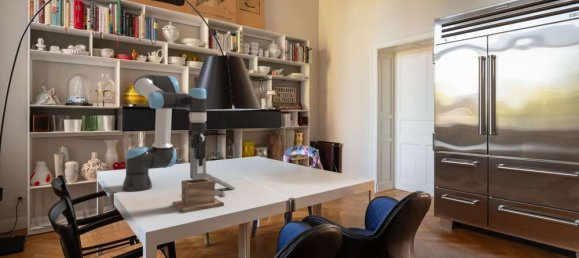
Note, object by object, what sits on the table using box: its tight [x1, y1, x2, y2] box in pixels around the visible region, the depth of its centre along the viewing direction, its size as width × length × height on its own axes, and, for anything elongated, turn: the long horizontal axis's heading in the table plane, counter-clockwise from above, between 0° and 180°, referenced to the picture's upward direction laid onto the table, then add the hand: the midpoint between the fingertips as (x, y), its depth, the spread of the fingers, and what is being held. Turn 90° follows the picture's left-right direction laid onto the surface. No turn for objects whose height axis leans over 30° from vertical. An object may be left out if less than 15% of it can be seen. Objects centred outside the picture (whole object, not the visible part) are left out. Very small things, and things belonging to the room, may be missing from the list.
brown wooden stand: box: [172, 178, 225, 214], centre depth 151 cm, size 15×19×12 cm
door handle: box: [206, 172, 236, 198], centre depth 176 cm, size 18×8×20 cm
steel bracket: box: [189, 147, 207, 180], centre depth 150 cm, size 4×6×14 cm, turn 127°
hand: (198, 172), depth 150 cm, fingers closed on steel bracket, 4 cm apart
